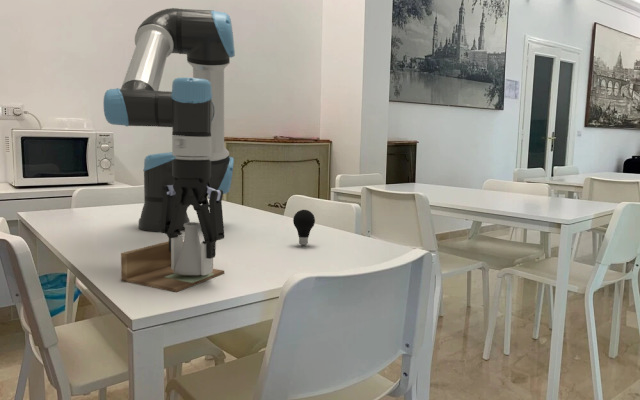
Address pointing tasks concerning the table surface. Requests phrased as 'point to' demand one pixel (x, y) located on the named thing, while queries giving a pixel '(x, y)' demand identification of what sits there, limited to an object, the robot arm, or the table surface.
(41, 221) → the table surface
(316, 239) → the table surface
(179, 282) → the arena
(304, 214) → the light bulb
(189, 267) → the flask
